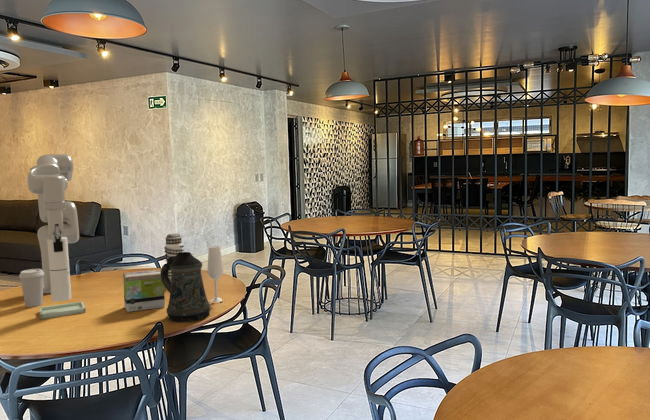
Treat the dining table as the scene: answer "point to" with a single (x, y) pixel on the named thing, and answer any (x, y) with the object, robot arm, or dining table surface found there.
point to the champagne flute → (215, 268)
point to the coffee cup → (32, 287)
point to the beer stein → (185, 288)
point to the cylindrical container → (59, 271)
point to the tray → (62, 310)
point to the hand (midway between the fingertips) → (58, 249)
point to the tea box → (143, 290)
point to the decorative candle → (173, 247)
